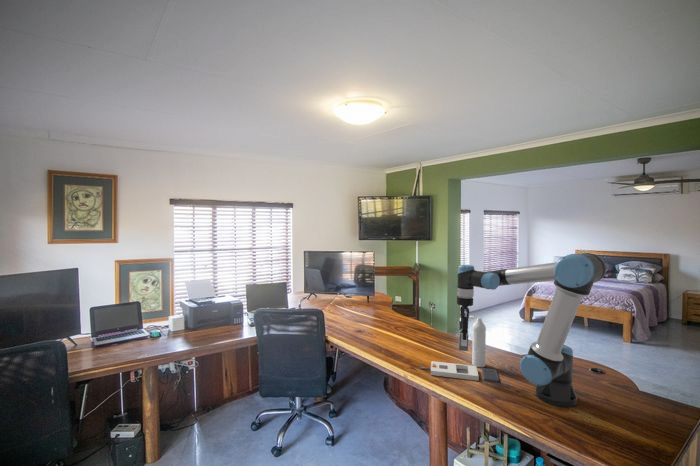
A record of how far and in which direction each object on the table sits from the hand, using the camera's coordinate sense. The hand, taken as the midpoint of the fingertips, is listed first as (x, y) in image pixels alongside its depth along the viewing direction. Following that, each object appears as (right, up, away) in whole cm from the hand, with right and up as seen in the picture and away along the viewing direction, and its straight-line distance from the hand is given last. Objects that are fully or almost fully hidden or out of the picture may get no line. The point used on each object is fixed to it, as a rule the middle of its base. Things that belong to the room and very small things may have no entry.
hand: (463, 344), depth 165 cm
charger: (0, -3, 0) cm, 3 cm away
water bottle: (+11, -15, +13) cm, 23 cm away
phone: (+13, -16, -1) cm, 20 cm away
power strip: (-7, -15, +4) cm, 17 cm away
